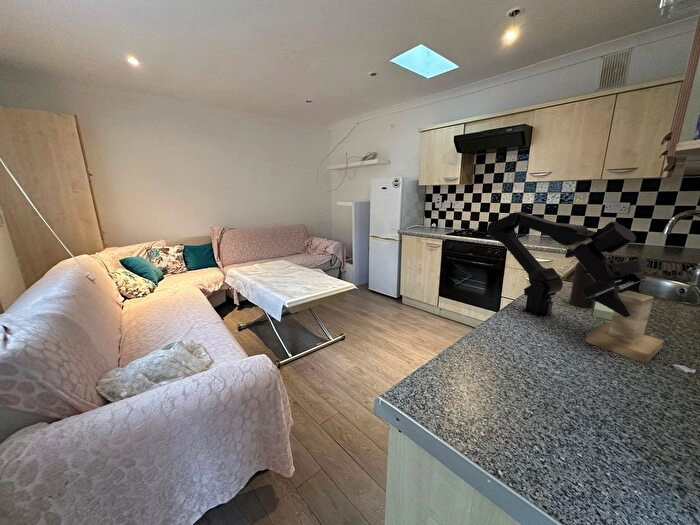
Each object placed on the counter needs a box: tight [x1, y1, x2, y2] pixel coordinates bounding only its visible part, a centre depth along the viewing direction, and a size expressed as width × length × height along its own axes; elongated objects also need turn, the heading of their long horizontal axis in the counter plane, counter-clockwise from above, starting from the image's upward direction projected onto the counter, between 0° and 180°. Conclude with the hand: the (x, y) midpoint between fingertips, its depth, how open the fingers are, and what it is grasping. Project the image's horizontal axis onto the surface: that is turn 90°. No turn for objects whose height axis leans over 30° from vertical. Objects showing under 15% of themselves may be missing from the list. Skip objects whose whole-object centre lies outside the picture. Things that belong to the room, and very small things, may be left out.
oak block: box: [584, 322, 665, 364], centre depth 74 cm, size 12×12×3 cm
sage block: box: [592, 302, 613, 321], centre depth 91 cm, size 8×8×3 cm
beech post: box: [608, 291, 655, 344], centre depth 71 cm, size 5×5×12 cm
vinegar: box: [569, 261, 595, 309], centre depth 98 cm, size 7×7×20 cm
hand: (637, 313), depth 70 cm, fingers open, 9 cm apart
